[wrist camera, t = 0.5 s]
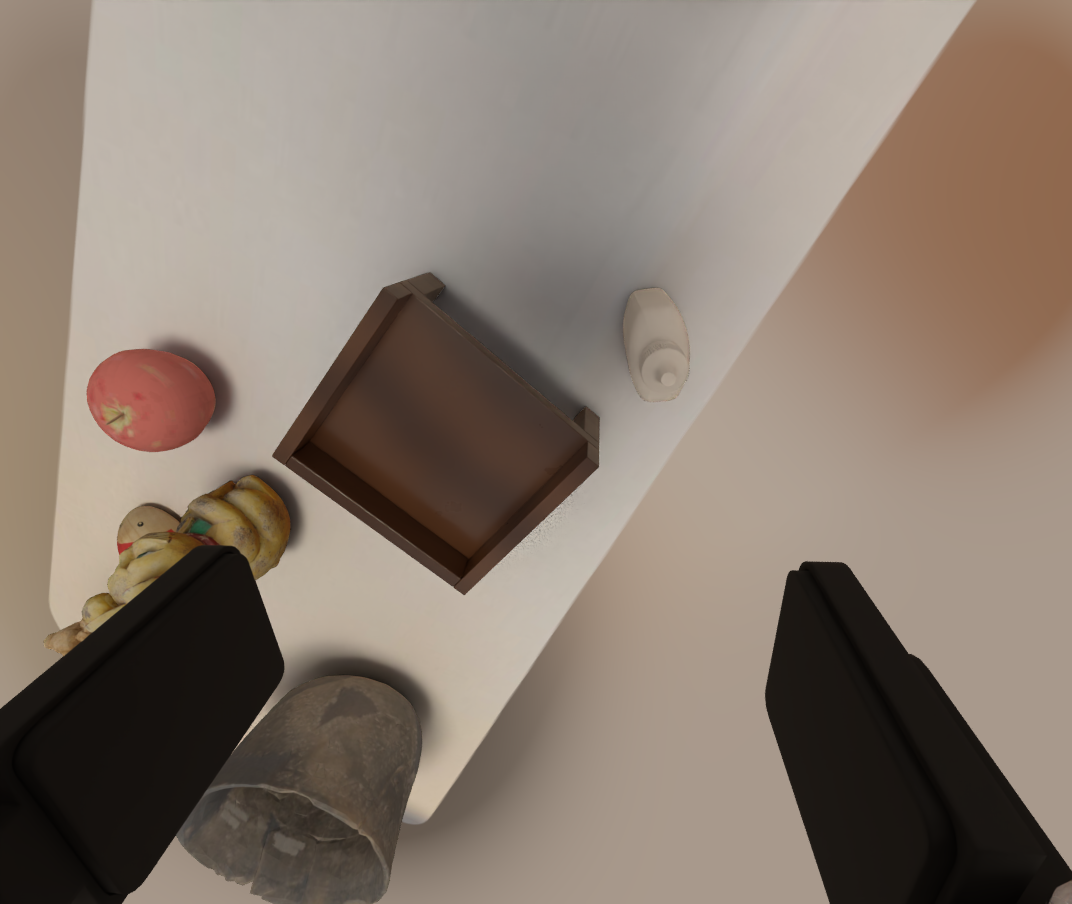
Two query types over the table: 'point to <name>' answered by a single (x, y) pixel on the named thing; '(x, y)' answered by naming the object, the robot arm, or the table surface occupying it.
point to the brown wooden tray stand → (437, 438)
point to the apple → (150, 399)
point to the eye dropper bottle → (655, 345)
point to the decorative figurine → (200, 542)
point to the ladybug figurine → (143, 525)
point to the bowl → (313, 795)
